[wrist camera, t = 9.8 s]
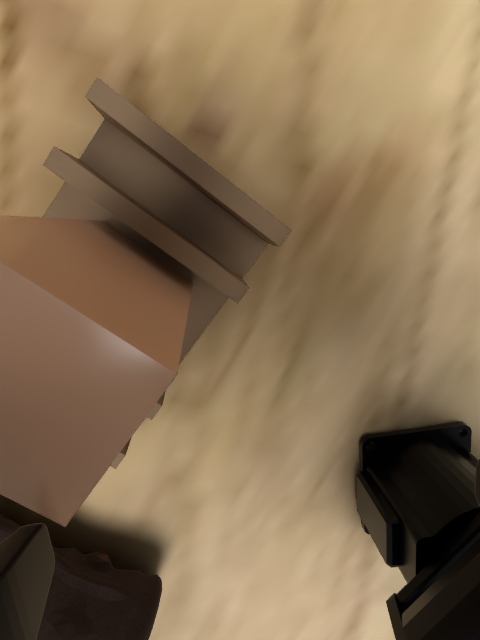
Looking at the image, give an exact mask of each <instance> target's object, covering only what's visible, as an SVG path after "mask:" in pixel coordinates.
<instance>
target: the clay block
mask: <svg viewBox="0 0 480 640" xmlns="http://www.w3.org/2000/svg"><path fill="white" fill-rule="evenodd" d="M192 287H193V284H192V283H191V282H189V281H188V280H187V279H185V278H184V277H182V276H181V275H180V274H178V273H177V272H175V271H174V270H172V269H171V268H170V267H168V266H167V265H165V264H164V263H162V262H161V261H160V260H158V259H157V258H155V257H154V256H152V255H151V254H150V253H148V252H147V251H145V250H144V249H143V248H141V247H140V246H138V245H137V244H135V243H134V242H133V241H131V240H130V239H128V238H127V237H125V236H124V235H123V234H121V233H120V232H118V231H117V230H115V229H114V228H113V227H111V226H110V225H108V224H107V223H105V222H104V221H98V220H78V219H58V218H38V217H19V216H0V494H1V495H3V496H5V497H7V498H9V499H11V500H13V501H15V502H17V503H19V504H21V505H22V506H24V507H26V508H28V509H30V510H32V511H34V512H36V513H38V514H40V515H42V516H44V517H46V518H48V519H50V520H52V521H54V522H56V523H58V524H60V525H62V526H64V527H66V525H67V524H68V522H69V521H70V520H71V518H72V517H73V516H74V514H75V513H76V512H77V510H78V509H79V507H80V506H81V505H82V503H83V502H84V501H85V499H86V498H87V497H88V495H89V494H90V492H91V491H92V490H93V488H94V487H95V486H96V484H97V483H98V482H99V480H100V479H101V478H102V476H103V475H104V473H105V472H106V471H107V469H108V468H109V467H110V465H111V464H112V463H113V461H114V460H115V458H116V457H117V456H118V454H119V453H120V452H121V450H122V449H123V448H124V446H125V445H126V444H127V442H128V441H129V439H130V438H131V437H132V435H133V434H134V433H135V431H136V430H137V429H138V427H139V426H140V424H141V423H142V422H143V420H144V419H145V418H146V416H147V415H148V414H149V412H150V411H151V409H152V408H153V407H154V405H155V404H156V403H157V401H158V400H159V399H160V397H161V396H162V395H163V393H164V392H165V390H166V389H167V388H168V386H169V385H170V384H171V382H172V381H173V380H174V378H175V377H176V375H177V373H178V367H179V361H180V356H181V350H182V344H183V339H184V333H185V327H186V321H187V316H188V310H189V304H190V299H191V293H192Z"/></svg>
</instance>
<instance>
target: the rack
mask: <svg viewBox="0 0 480 640" xmlns="http://www.w3.org/2000/svg"><path fill="white" fill-rule="evenodd" d="M85 97H86V98H87V99H88V100H89V101H90V103H91V104H92V105H93V106H94V107H95V108H96V109H97V110H98V111H99V112H100V114H101V115H102V116H103V117H104V118H105V120H104V121H103V123H102V124H101V126H100V127H99V129H98V131H97V132H96V134H95V135H94V137H93V139H92V140H91V142H90V143H89V145H88V146H87V148H86V150H85V151H84V153H83V154H82V156H81V158H80V159H77V158H75V157H73V156H71V155H69V154H68V153H66V152H64V151H62V150H60V149H58V148H56V147H54V148H53V149H52V151H51V152H50V154H49V156H48V157H47V159H46V160H45V162H44V164H43V165H44V166H45V167H47V168H48V169H49V170H51V171H52V172H54V173H55V174H56V175H58V176H59V177H61V178H62V179H63V180H65V183H64V184H63V186H62V188H61V189H60V191H59V192H58V194H57V196H56V197H55V199H54V200H53V202H52V203H51V205H50V207H49V208H48V210H47V211H46V213H45V215H44V216H43V218H58V219H78V220H98V221H104V222H105V223H107V224H108V225H110V226H111V227H113V228H114V229H115V230H117V231H118V232H120V233H121V234H123V235H124V236H125V237H127V238H128V239H130V240H131V241H133V242H134V243H135V244H137V245H138V246H140V247H141V248H143V249H144V250H145V251H147V252H148V253H150V254H151V255H152V256H154V257H155V258H157V259H158V260H160V261H161V262H162V263H164V264H165V265H167V266H168V267H170V268H171V269H172V270H174V271H175V272H177V273H178V274H180V275H181V276H182V277H184V278H185V279H187V280H188V281H189V282H191V283H192V284H193V287H192V293H191V299H190V304H189V310H188V316H187V321H186V327H185V333H184V339H183V344H182V350H181V356H180V361H179V364H180V363H181V361H182V360H183V359H184V357H185V356H186V355H187V353H188V352H189V351H190V349H191V348H192V346H193V345H194V344H195V342H196V341H197V340H198V338H199V337H200V336H201V334H202V333H203V331H204V330H205V329H206V327H207V326H208V325H209V323H210V322H211V321H212V319H213V318H214V316H215V315H216V314H217V312H218V311H219V310H220V308H221V307H222V306H223V304H224V303H225V301H226V300H227V299H228V297H229V298H231V299H232V300H234V301H235V302H236V303H238V302H239V301H240V300H241V298H242V297H243V296H244V294H245V293H246V292H247V290H248V289H249V287H248V286H247V284H246V283H245V282H244V280H243V279H242V278H243V277H244V276H245V274H246V273H247V271H248V270H249V269H250V267H251V266H252V265H253V263H254V262H255V261H256V259H257V258H258V256H259V255H260V254H261V252H262V251H263V250H264V248H265V247H266V246H267V244H268V243H269V244H272V245H276V246H281V244H282V243H283V242H284V240H285V239H286V237H287V236H288V235H289V233H290V232H291V231H292V230H291V229H289V228H288V227H287V226H286V225H284V224H283V223H282V222H280V221H279V220H278V219H277V218H275V217H274V216H273V215H272V214H270V213H269V212H268V211H266V210H265V209H264V208H263V207H261V206H260V205H259V204H258V203H256V202H255V201H254V200H253V199H251V198H250V197H249V196H247V195H246V194H245V193H244V192H242V191H241V190H240V189H239V188H237V187H236V186H235V185H233V184H232V183H231V182H230V181H228V180H227V179H226V178H225V177H223V176H222V175H221V174H220V173H218V172H217V171H216V170H214V169H213V168H212V167H211V166H209V165H208V164H207V163H206V162H204V161H203V160H202V159H200V158H199V157H198V156H197V155H195V154H194V153H193V152H192V151H190V150H189V149H188V148H186V147H185V146H184V145H183V144H181V143H180V142H179V141H178V140H176V139H175V138H174V137H173V136H171V135H170V134H169V133H167V132H166V131H165V130H164V129H162V128H161V127H160V126H159V125H157V124H156V123H155V122H153V121H152V120H151V119H150V118H148V117H147V116H146V115H145V114H143V113H142V112H141V111H139V110H138V109H137V108H136V107H134V106H133V105H132V104H131V103H129V102H128V101H127V100H126V99H124V98H123V97H122V96H120V95H119V94H118V93H117V92H115V91H114V90H113V89H112V88H110V87H109V86H108V85H106V84H105V83H104V82H103V81H101V80H100V79H99V78H98V77H97V78H96V80H95V81H94V83H93V85H92V86H91V88H90V89H89V91H88V93H87V94H86V96H85ZM165 391H166V390H165ZM164 395H165V392H164V393H163V395H162V396H161V397H160V399H159V400H158V401H157V403H156V404H155V405H154V407H153V408H152V409H151V411H150V412H149V414H148V415H147V416H146V417H148V418H150V419H151V420H152V419H153V417H154V416H155V415H156V413H157V412H158V411H159V409H160V408H161V407H162V404H163V399H164ZM130 440H131V438H130V439H129V441H128V442H127V444H126V445H125V446H124V448H123V449H122V450H121V452H120V453H119V454H118V456H117V457H116V458H115V460H114V461H113V463H112V464H111V465H110V466H111V467H113V468H115V469H116V468H117V466H118V465H119V463H120V462H121V461H122V459H123V458H124V457H125V455H126V452H127V449H128V446H129V443H130Z"/></svg>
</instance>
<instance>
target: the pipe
mask: <svg viewBox="0 0 480 640" xmlns="http://www.w3.org/2000/svg"><path fill="white" fill-rule="evenodd" d="M20 527H22V526H21V525H18V524H17V523H15V522H14V521H12V520H11V519H9V518H7V517H5V516H4V515H2V514H0V543H1V542H2V541H4V540H5V539H6V538H7V537H9V536H10V535H11V534H12V533H14V532H15V531H16V530H17V529H19V528H20ZM52 548H53V552H54V556H55V567H54V572H53V576H52V580H51V584H50V588H49V592H48V596H47V600H46V604H45V608H44V612H43V616H42V620H41V623H40V627H39V631H38V635H37V639H36V640H148V639H149V637H150V634H151V631H152V628H153V624H154V621H155V617H156V614H157V610H158V607H159V602H160V597H161V593H162V581H161V578H160V577H159V576H158V575H154V574H144V573H143V572H141V571H139V570H130V569H117V568H113V567H112V564H111V561H110V559H109V558H108V556H107V554H104V553H98V552H92V553H89V554H81V553H80V552H79V551H78V550H76V549H74V548H57V547H54V546H52Z"/></svg>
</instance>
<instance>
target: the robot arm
mask: <svg viewBox="0 0 480 640" xmlns="http://www.w3.org/2000/svg"><path fill="white" fill-rule="evenodd" d="M461 430H463V431H462V432H461V433H459V432H460V431H461ZM370 442H372V444H371V445H370V446H367V444H368V443H370ZM359 444H360V471H359V472H358V473H357V475H356V488H357V511H358V513H359V515H360V517H361V522H362V527H363V529H364V531H365V532H366V533H367V534H370V535H371V537H372V539H373V541H374V542H375V544H376V546H377V548H378V550H379V552H380V553H381V555H382V557H383V559H384V561H385V563H386V564H387V565H388V566H390V567H391V568H392V567H399V569H400V571H401V573H402V574H403V576H404V578H405V580H406V581H407V584H406V585H405V586H404V587H403V588H402V589H401V590H400V591H399V592H398V593H397V594H395V593H394V594H393V595H392V596H391V597H390V598H389V599H388V600H387V601H386V603H387V607H388V611H389V615H390V619H391V623H392V627H393V631H394V635H395V638H396V640H480V459H479V460H478V459H477V458H476V457H474V456H473V455H472V454H471V453H470V452H471V428H470V427H469V426H467V425H466V424H465V423H463V422H456V423H449V424H442V425H434V426H427V427H420V428H412V429H405V430H398V431H391V432H383V433H376V434H369V435H365V436H363V437H362V438H361V440H360V443H359ZM54 567H55V556H54V552H53V548H52V544H51V540H50V536H49V532H48V529H47V527H46V525H45V524H43V523H37V524H30V525H24V526H22V527H20V528H19V529H17V530H16V531H15V532H14V533H12V534H11V535H10V536H9V537H7V538H6V539H5V540H4V541H2V542H1V543H0V640H36V639H37V635H38V631H39V627H40V623H41V620H42V616H43V612H44V608H45V604H46V600H47V596H48V592H49V588H50V584H51V580H52V576H53V572H54Z"/></svg>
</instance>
